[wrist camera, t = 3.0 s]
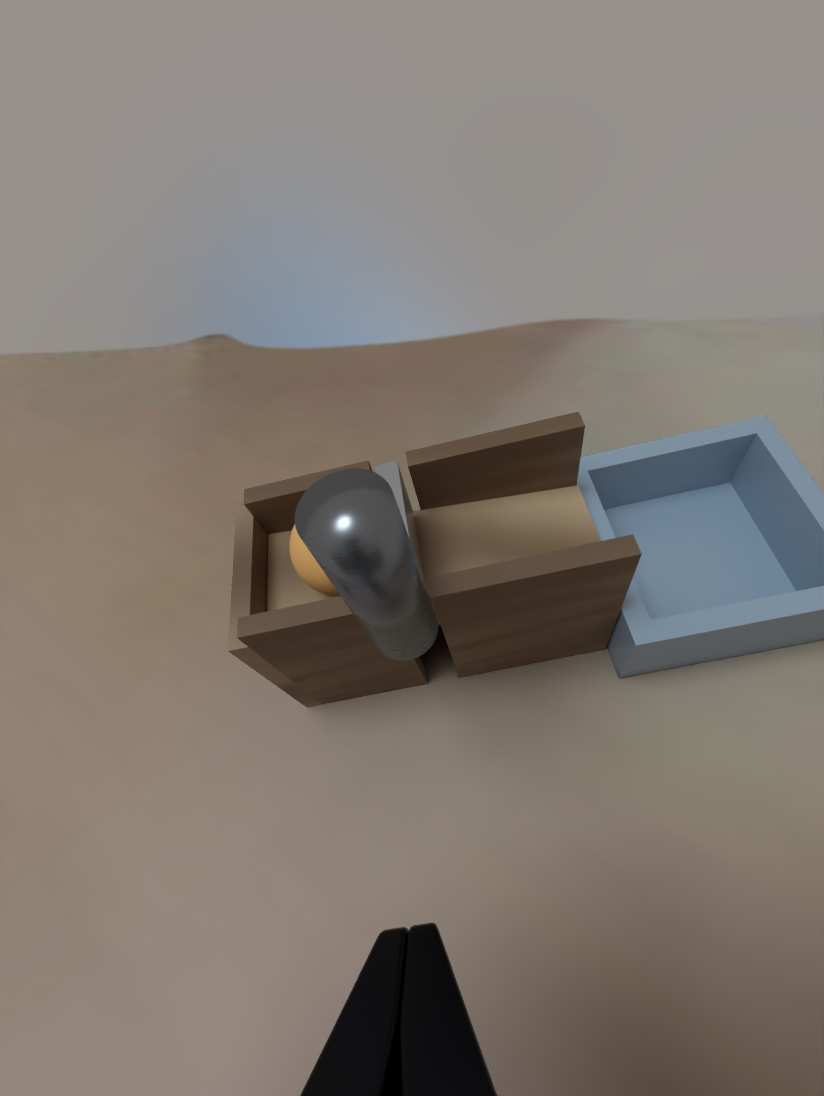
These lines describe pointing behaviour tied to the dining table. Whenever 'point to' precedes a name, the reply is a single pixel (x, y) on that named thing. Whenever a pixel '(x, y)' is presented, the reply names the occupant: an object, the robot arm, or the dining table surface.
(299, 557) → the ball
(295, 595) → the ramp frame
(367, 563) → the gate
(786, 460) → the blue square tray
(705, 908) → the dining table surface
